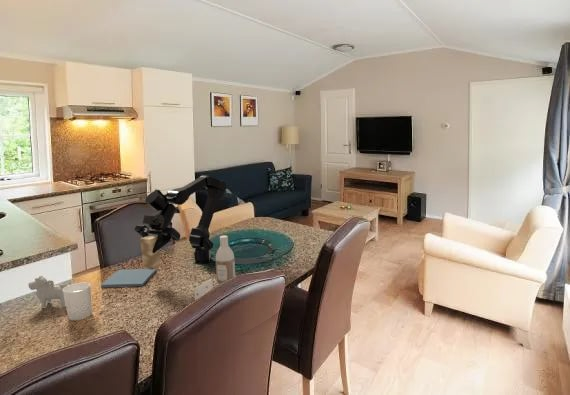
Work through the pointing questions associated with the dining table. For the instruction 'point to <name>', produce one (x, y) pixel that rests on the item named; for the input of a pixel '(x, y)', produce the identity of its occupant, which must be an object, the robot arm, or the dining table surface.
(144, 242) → the oak block
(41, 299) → the grey animal figurine
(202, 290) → the white angled block
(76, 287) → the white cup
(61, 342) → the dining table surface
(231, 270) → the bath foam
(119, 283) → the rubber mat
